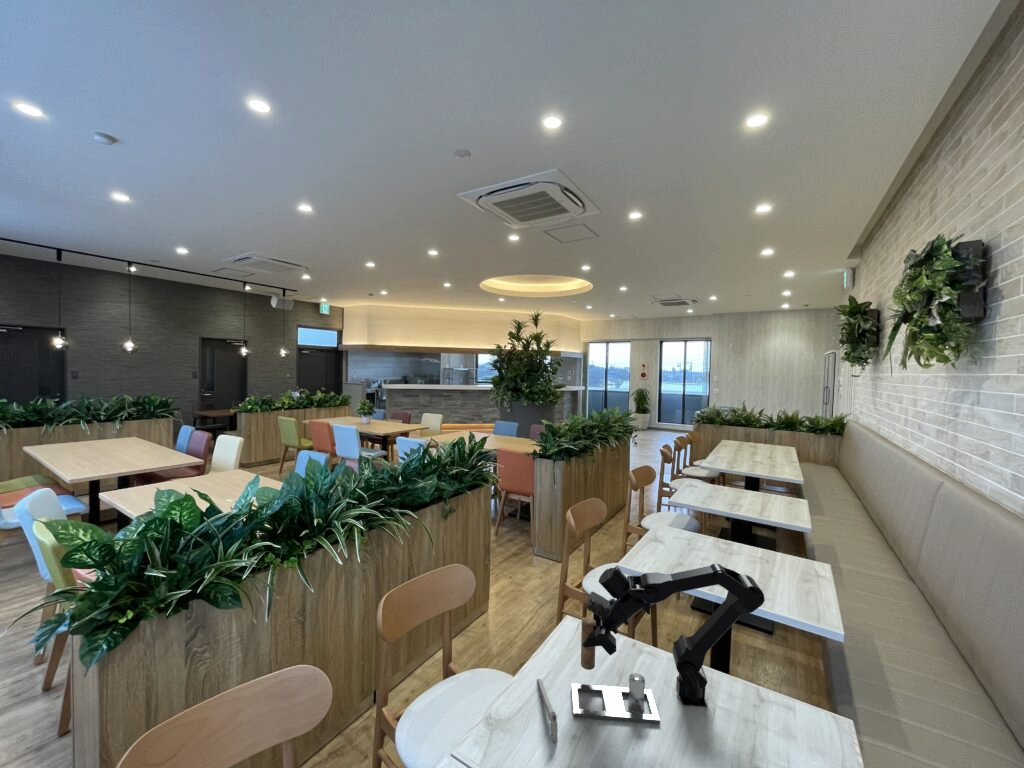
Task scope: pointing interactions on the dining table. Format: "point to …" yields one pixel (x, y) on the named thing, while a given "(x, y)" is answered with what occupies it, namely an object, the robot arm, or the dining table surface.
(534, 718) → the dining table surface
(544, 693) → the caliper
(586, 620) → the walnut pin
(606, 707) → the plate
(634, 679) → the steel pin
